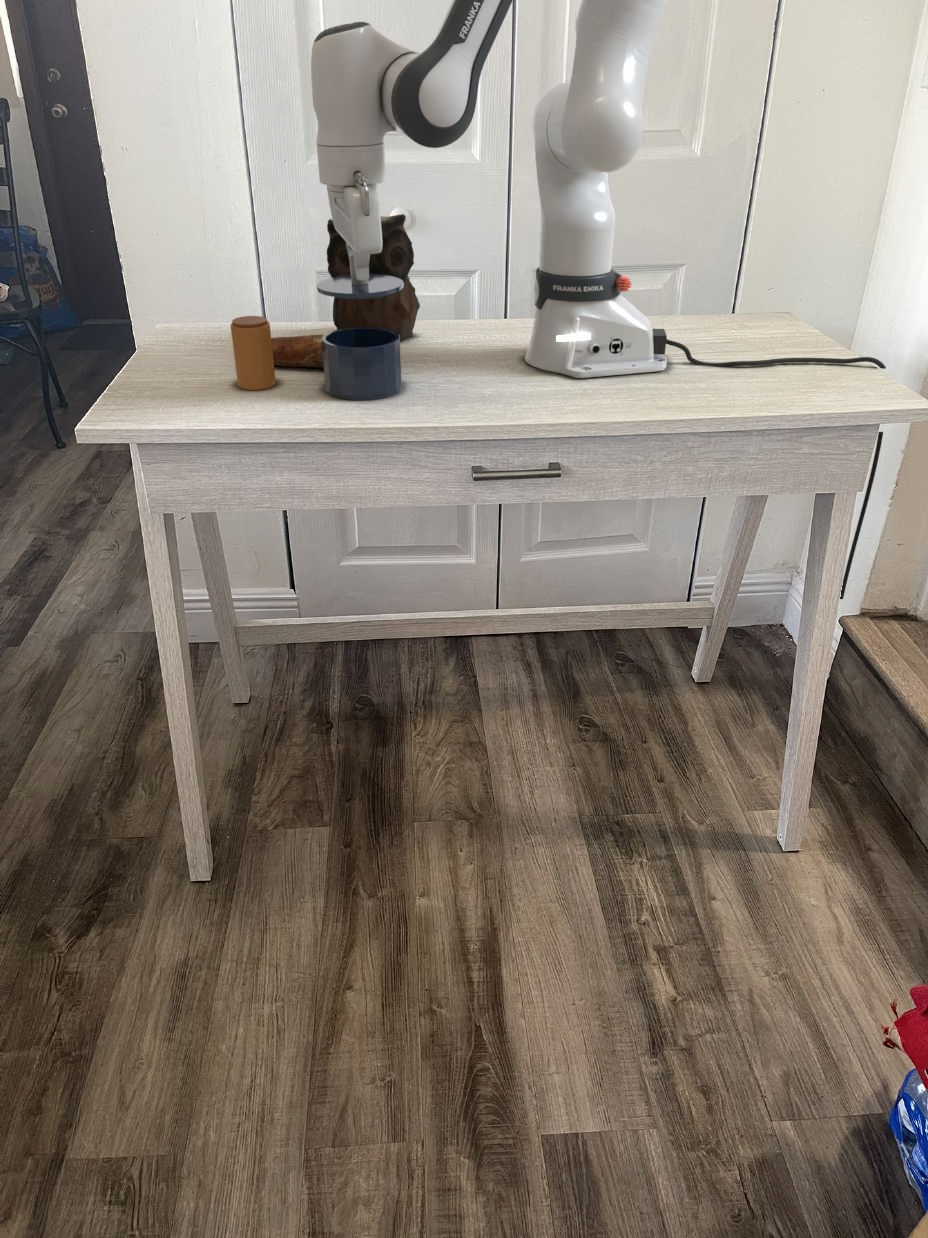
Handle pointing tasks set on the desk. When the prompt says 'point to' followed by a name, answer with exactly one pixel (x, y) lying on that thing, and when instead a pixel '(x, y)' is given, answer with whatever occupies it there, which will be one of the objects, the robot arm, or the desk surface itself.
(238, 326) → the tall brown tube
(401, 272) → the owl
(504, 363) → the desk surface
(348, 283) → the pot lid
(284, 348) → the bread
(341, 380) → the pot
